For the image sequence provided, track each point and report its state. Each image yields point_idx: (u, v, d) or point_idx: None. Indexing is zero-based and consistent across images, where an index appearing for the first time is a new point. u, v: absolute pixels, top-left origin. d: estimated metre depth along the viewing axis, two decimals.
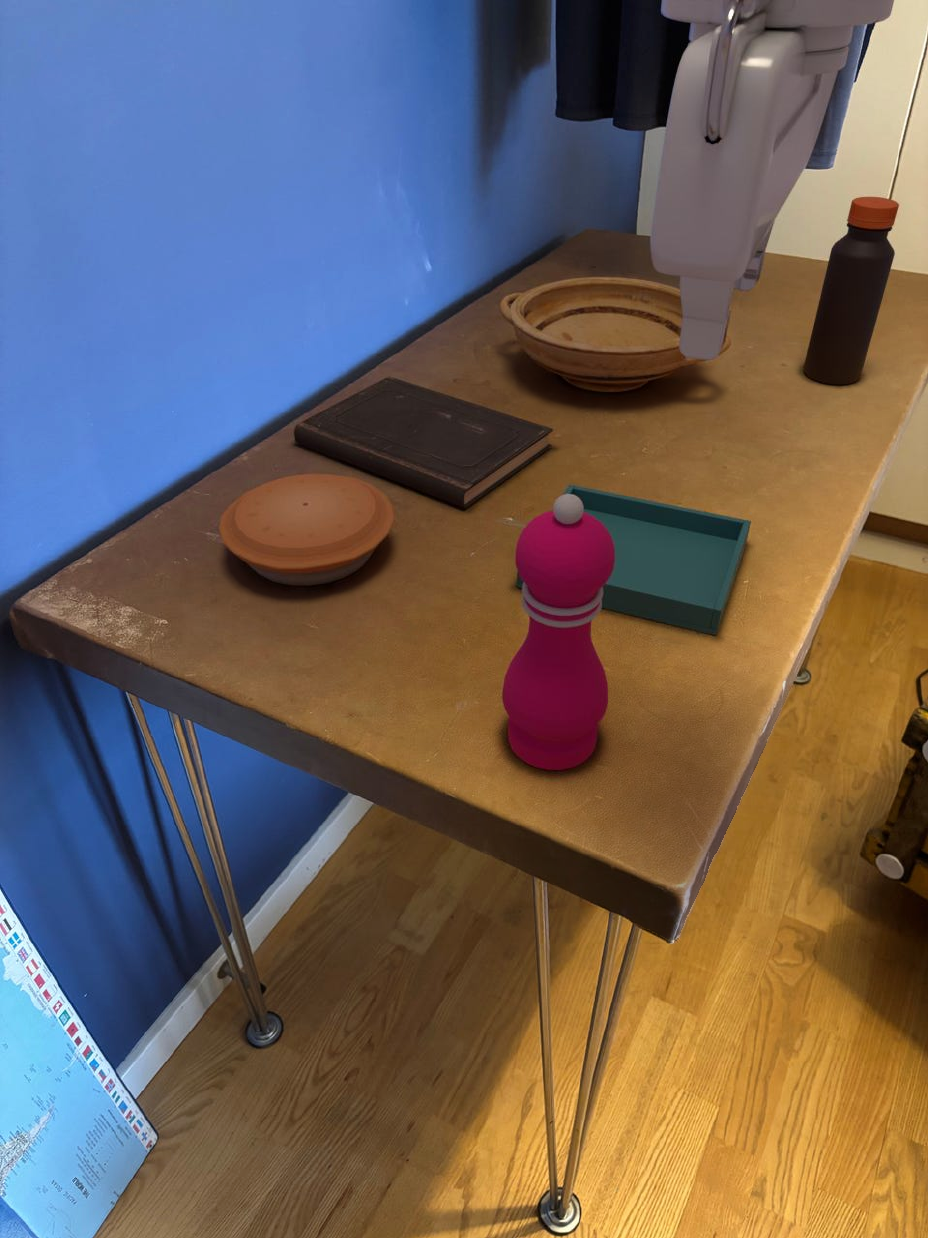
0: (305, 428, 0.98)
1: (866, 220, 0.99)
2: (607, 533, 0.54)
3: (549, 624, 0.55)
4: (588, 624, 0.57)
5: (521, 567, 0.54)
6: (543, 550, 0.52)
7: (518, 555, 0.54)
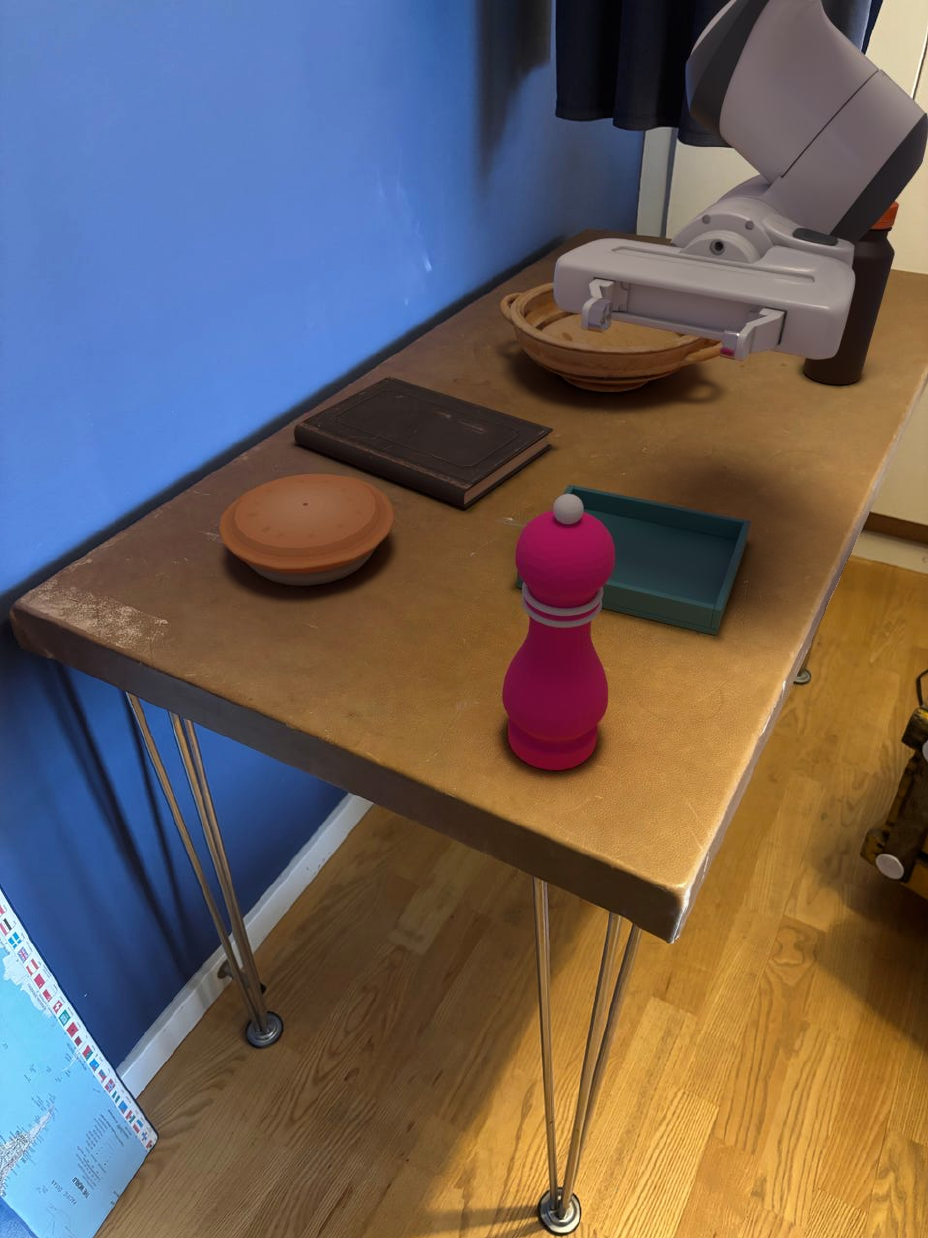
0: (305, 428, 0.98)
1: None
2: (607, 533, 0.54)
3: (549, 624, 0.55)
4: (588, 624, 0.57)
5: (521, 567, 0.54)
6: (543, 550, 0.52)
7: (518, 555, 0.54)
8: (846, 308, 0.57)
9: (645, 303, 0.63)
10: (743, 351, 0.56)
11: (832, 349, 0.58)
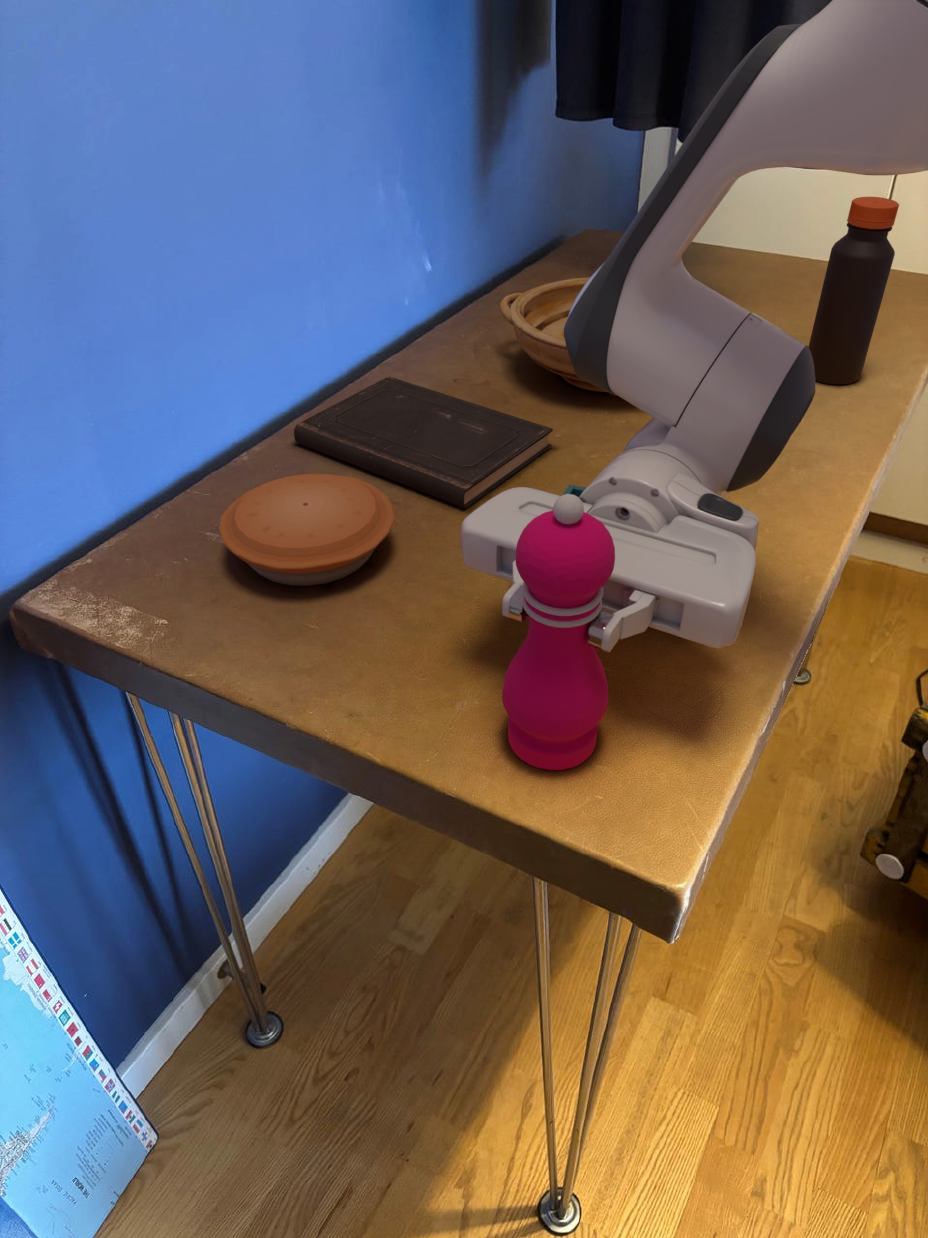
0: (305, 428, 0.98)
1: (866, 220, 0.99)
2: (607, 533, 0.54)
3: (549, 624, 0.55)
4: (588, 624, 0.57)
5: (521, 567, 0.54)
6: (543, 550, 0.52)
7: (519, 555, 0.54)
8: (742, 605, 0.56)
9: None
10: (609, 645, 0.56)
11: (730, 640, 0.58)
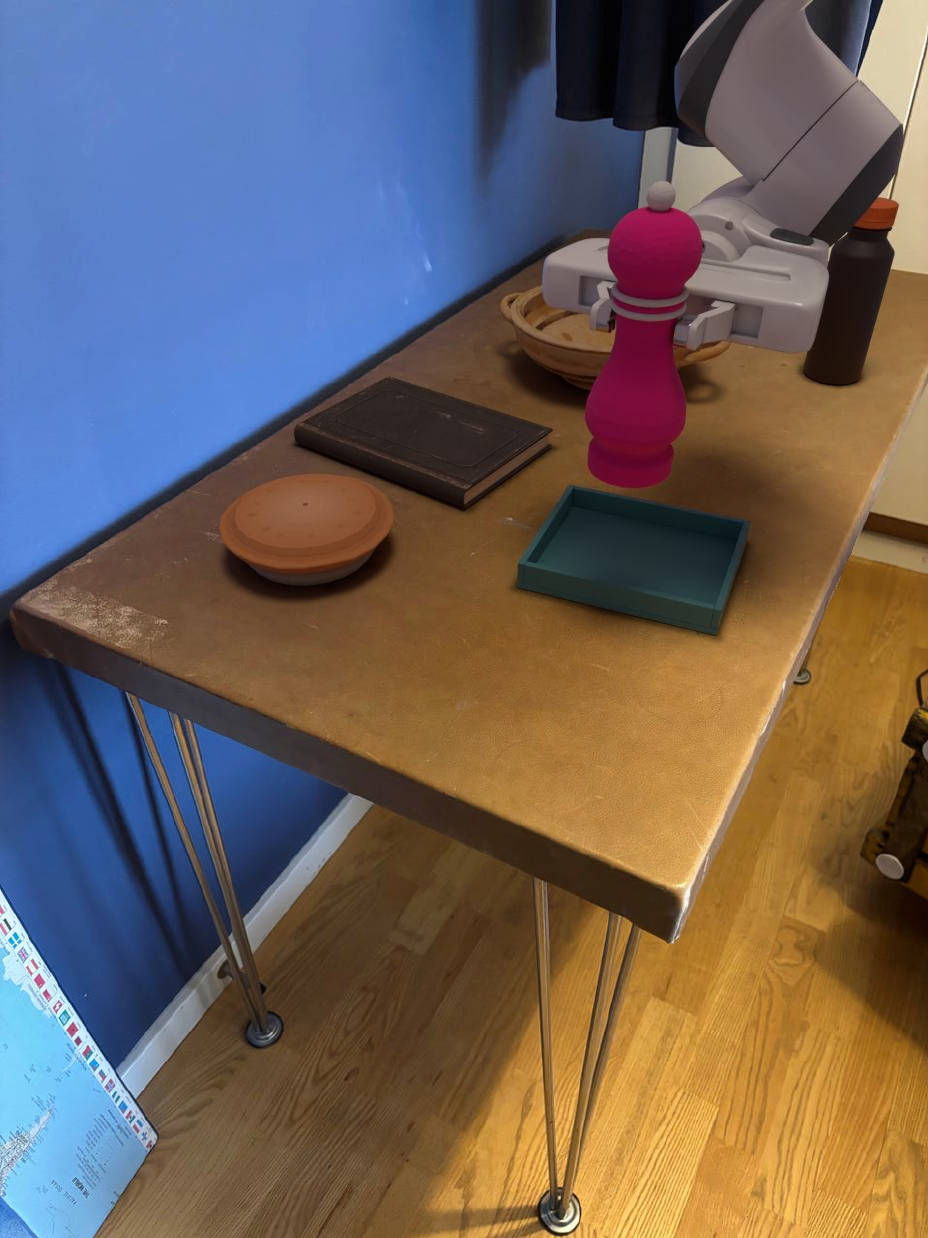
0: (305, 428, 0.98)
1: (866, 220, 0.99)
2: (696, 224, 0.57)
3: (639, 317, 0.59)
4: (674, 324, 0.60)
5: (615, 256, 0.57)
6: (638, 232, 0.56)
7: (612, 245, 0.58)
8: (819, 305, 0.60)
9: None
10: (694, 341, 0.60)
11: (806, 344, 0.61)
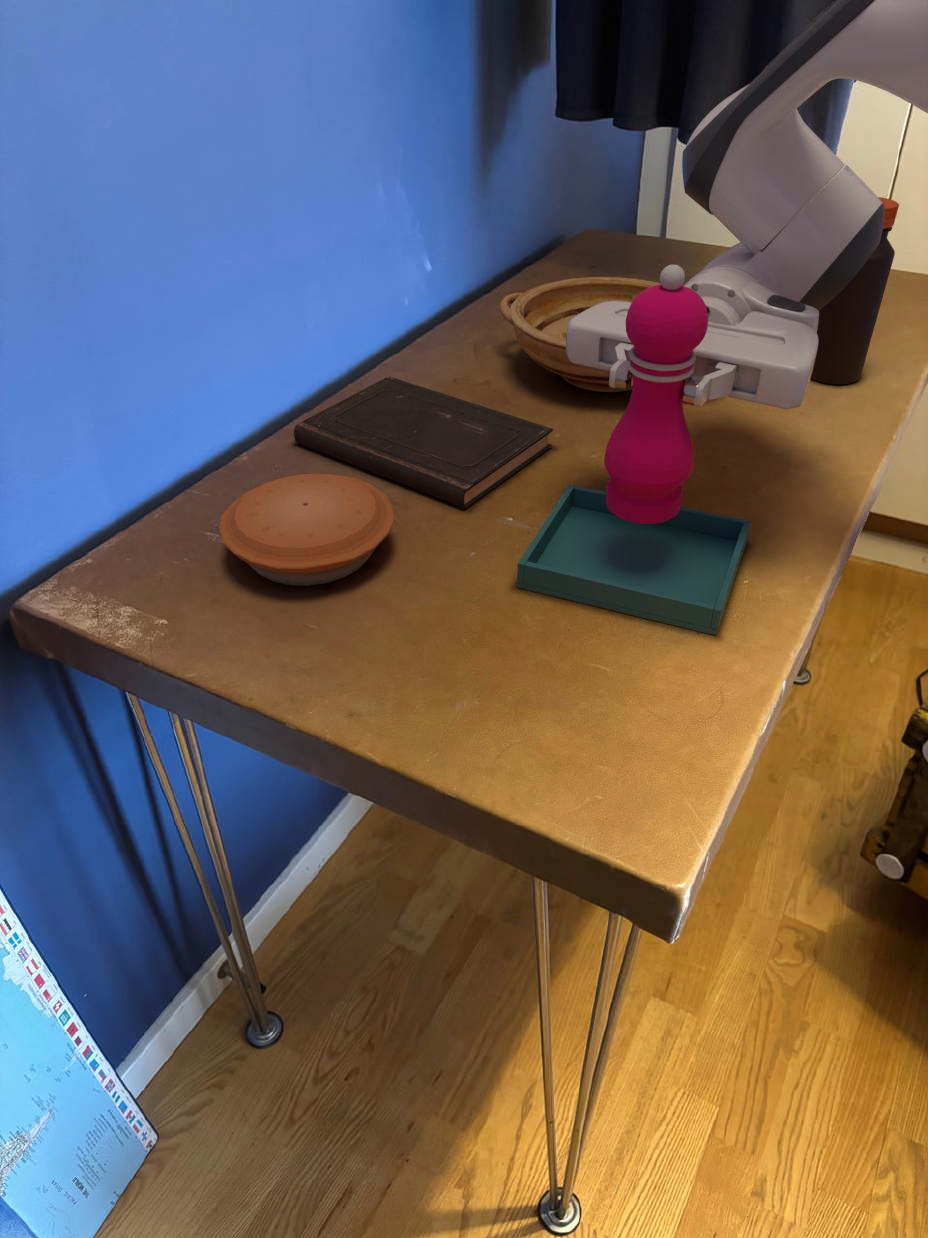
0: (305, 428, 0.98)
1: None
2: (702, 300, 0.66)
3: (653, 379, 0.68)
4: (683, 384, 0.69)
5: (632, 328, 0.67)
6: (652, 309, 0.65)
7: (630, 318, 0.67)
8: (809, 368, 0.69)
9: None
10: (701, 399, 0.69)
11: (798, 400, 0.70)
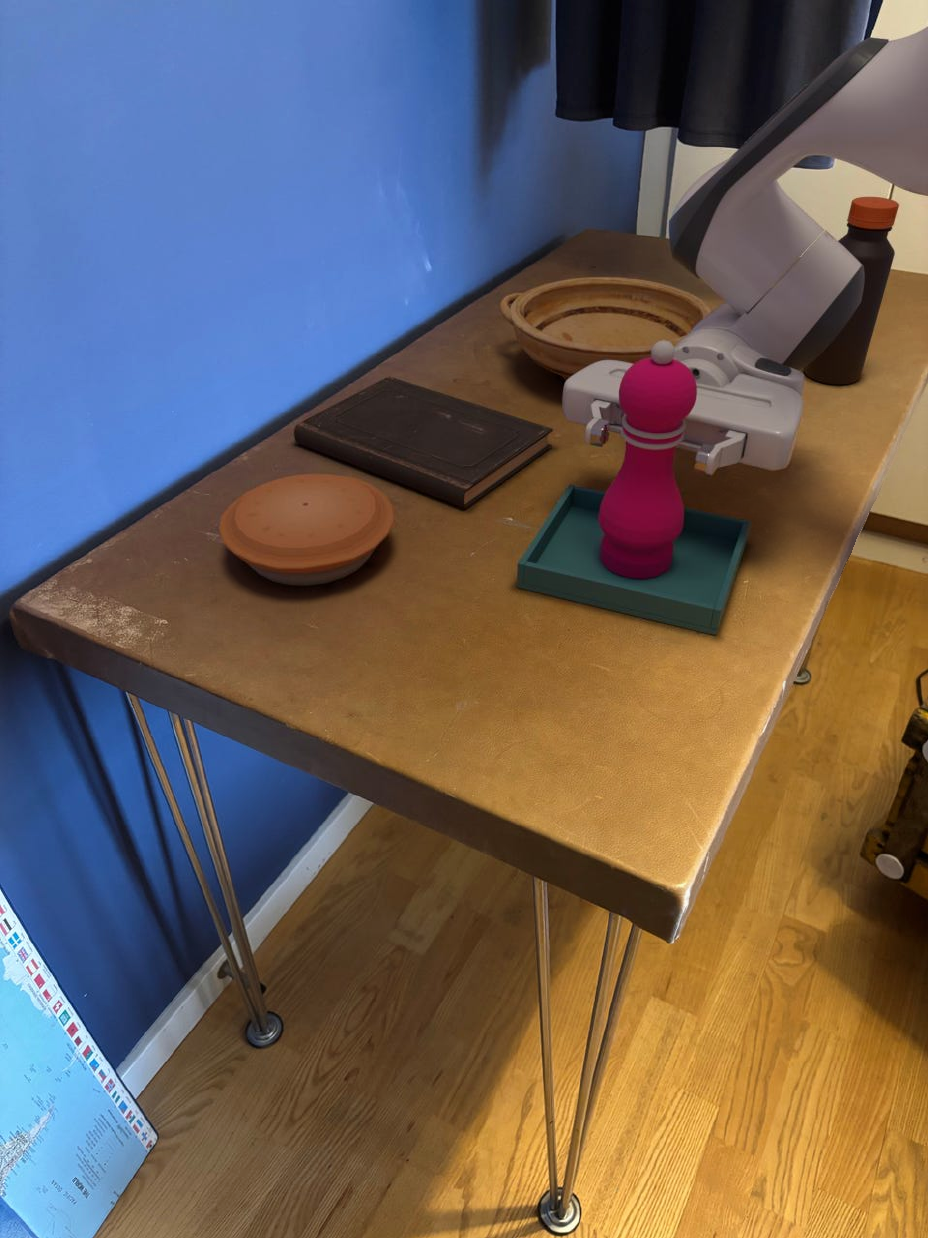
0: (305, 428, 0.98)
1: (866, 220, 0.99)
2: (691, 373, 0.70)
3: (644, 447, 0.72)
4: (673, 450, 0.73)
5: (625, 399, 0.70)
6: (644, 382, 0.69)
7: (623, 390, 0.70)
8: (794, 432, 0.72)
9: None
10: (712, 468, 0.71)
11: (783, 463, 0.74)
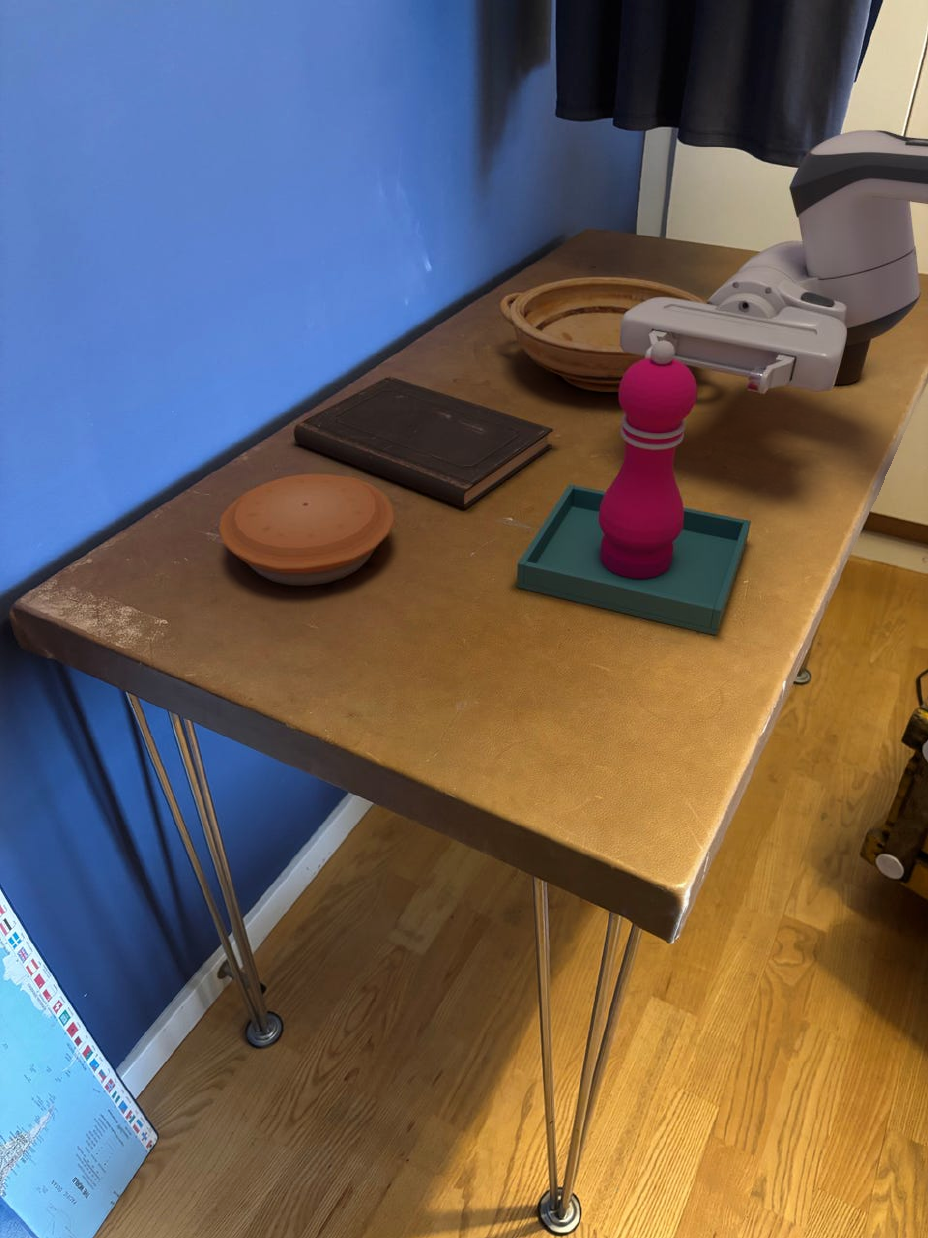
0: (305, 428, 0.98)
1: None
2: (691, 373, 0.70)
3: (644, 447, 0.72)
4: (673, 450, 0.73)
5: (625, 399, 0.70)
6: (644, 382, 0.69)
7: (623, 390, 0.70)
8: (840, 355, 0.78)
9: (690, 348, 0.84)
10: (764, 386, 0.78)
11: (829, 384, 0.80)
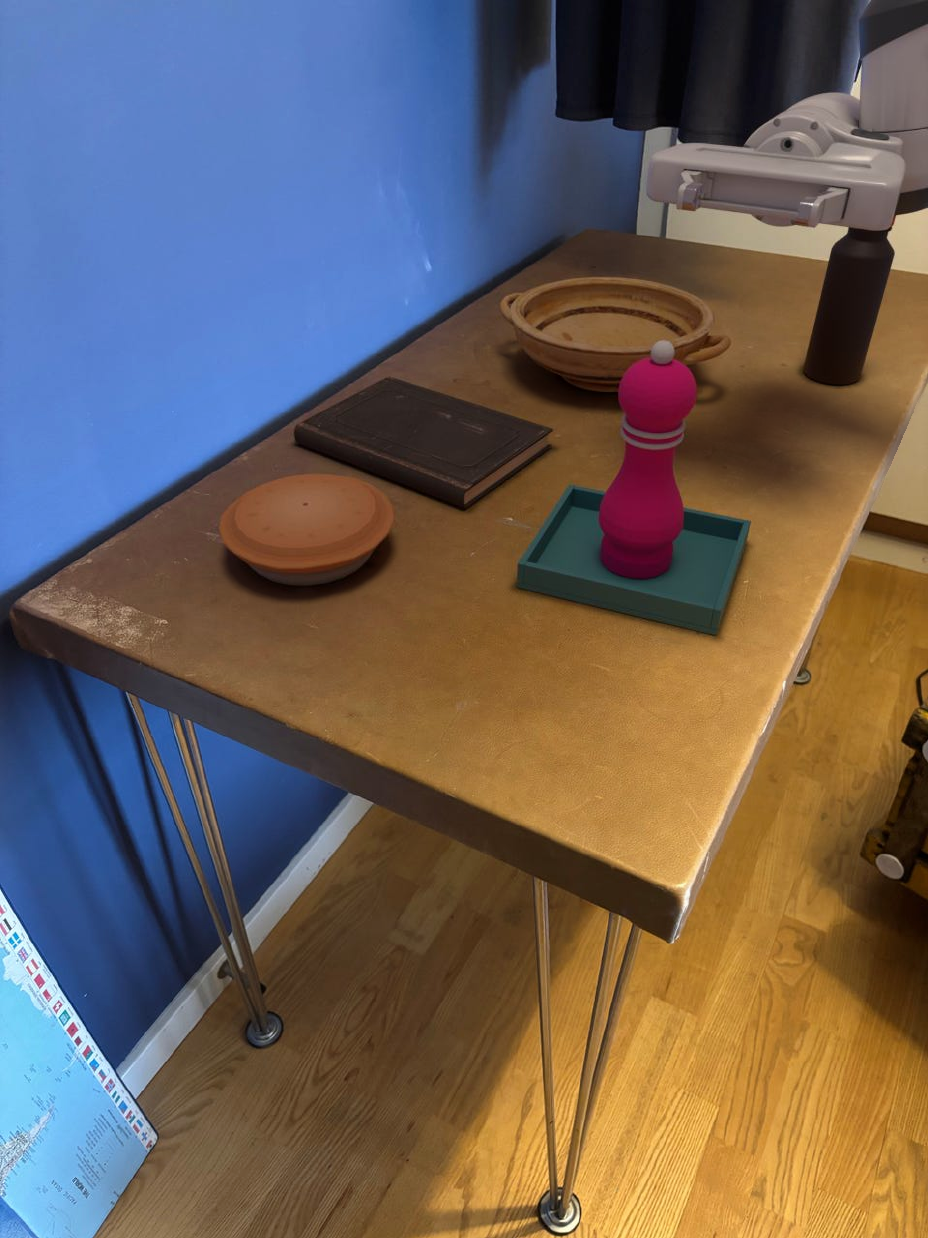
0: (305, 428, 0.98)
1: None
2: (691, 373, 0.70)
3: (644, 447, 0.72)
4: (673, 450, 0.73)
5: (625, 399, 0.70)
6: (644, 382, 0.69)
7: (622, 390, 0.70)
8: (900, 184, 0.69)
9: (727, 190, 0.75)
10: (816, 218, 0.68)
11: (887, 220, 0.70)
